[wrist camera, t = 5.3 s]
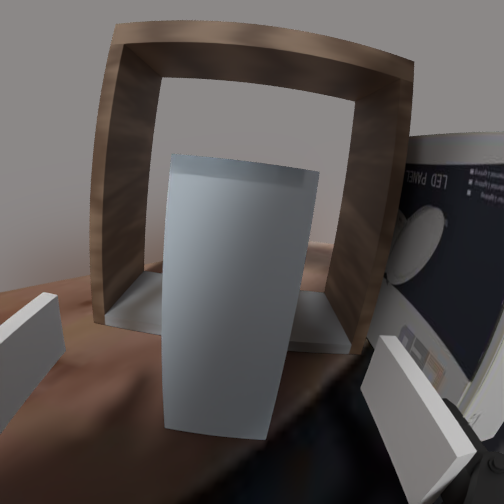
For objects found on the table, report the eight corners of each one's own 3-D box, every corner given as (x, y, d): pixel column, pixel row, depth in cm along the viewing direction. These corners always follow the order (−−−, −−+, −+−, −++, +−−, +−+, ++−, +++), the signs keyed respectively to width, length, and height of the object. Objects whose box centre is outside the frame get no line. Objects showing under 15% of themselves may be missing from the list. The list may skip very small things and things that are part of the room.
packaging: (331, 286, 44) (356, 142, 39) (370, 289, 44) (397, 152, 39) (436, 454, 15) (546, 131, 9) (493, 437, 15) (589, 166, 10)
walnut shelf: (331, 301, 39) (366, 88, 32) (360, 354, 27) (414, 61, 20) (134, 277, 38) (154, 61, 31) (93, 322, 26) (115, 24, 19)
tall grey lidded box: (261, 358, 25) (291, 167, 21) (265, 439, 17) (319, 171, 12) (188, 349, 25) (203, 156, 21) (164, 428, 16) (171, 154, 12)
